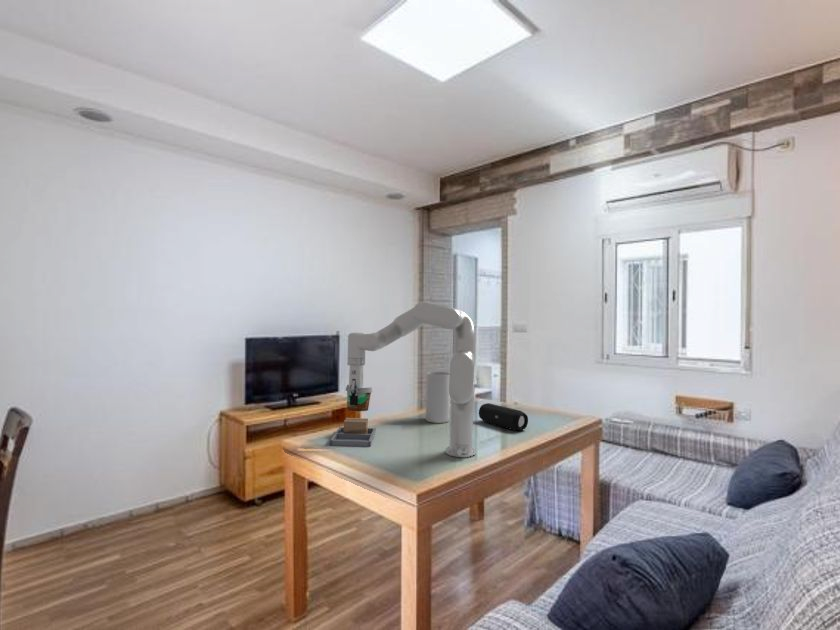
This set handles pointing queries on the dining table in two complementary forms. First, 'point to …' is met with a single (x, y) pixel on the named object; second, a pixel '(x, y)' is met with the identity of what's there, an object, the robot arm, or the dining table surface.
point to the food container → (359, 399)
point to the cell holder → (352, 438)
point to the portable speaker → (503, 416)
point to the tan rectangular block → (356, 426)
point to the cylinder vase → (437, 397)
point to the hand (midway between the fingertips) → (355, 402)
